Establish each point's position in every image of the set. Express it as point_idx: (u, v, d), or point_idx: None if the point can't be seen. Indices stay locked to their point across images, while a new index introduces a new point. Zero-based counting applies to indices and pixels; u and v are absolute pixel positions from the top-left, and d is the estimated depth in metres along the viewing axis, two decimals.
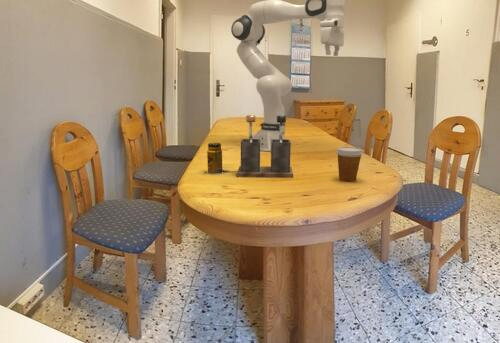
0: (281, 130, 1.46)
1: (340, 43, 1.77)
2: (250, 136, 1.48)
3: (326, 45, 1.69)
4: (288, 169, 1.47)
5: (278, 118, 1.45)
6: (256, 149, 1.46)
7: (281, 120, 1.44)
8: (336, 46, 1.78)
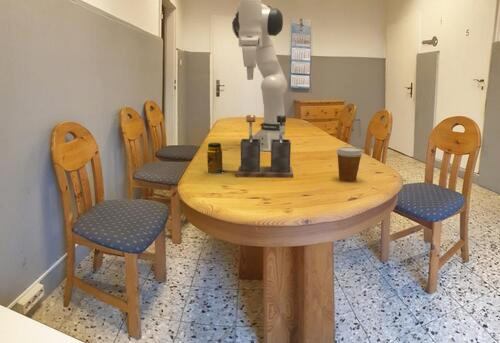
0: (281, 130, 1.46)
1: (255, 64, 1.46)
2: (250, 136, 1.48)
3: (248, 68, 1.36)
4: (288, 169, 1.47)
5: (278, 118, 1.45)
6: (256, 149, 1.46)
7: (281, 120, 1.44)
8: None
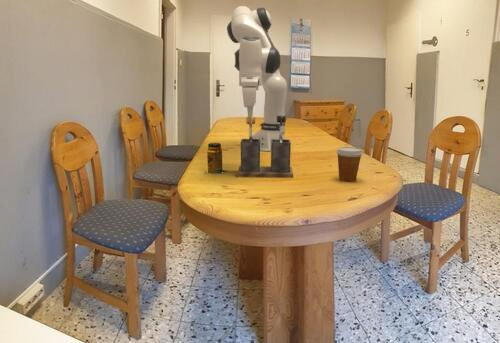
0: (281, 130, 1.46)
1: (255, 101, 1.50)
2: (250, 138, 1.48)
3: (249, 107, 1.43)
4: (288, 169, 1.47)
5: (278, 118, 1.45)
6: (256, 149, 1.46)
7: (281, 120, 1.44)
8: None
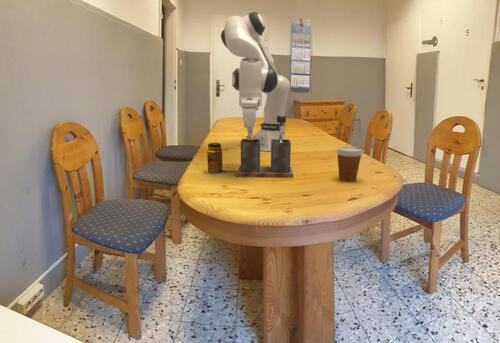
0: (281, 130, 1.46)
1: None
2: None
3: None
4: (288, 169, 1.47)
5: (278, 118, 1.45)
6: (256, 149, 1.46)
7: (281, 120, 1.44)
8: None
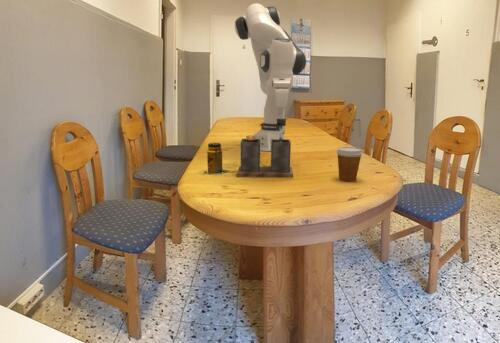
0: (281, 133, 1.47)
1: None
2: None
3: (280, 108, 1.42)
4: (288, 169, 1.47)
5: (278, 121, 1.45)
6: (256, 149, 1.46)
7: (281, 123, 1.45)
8: None
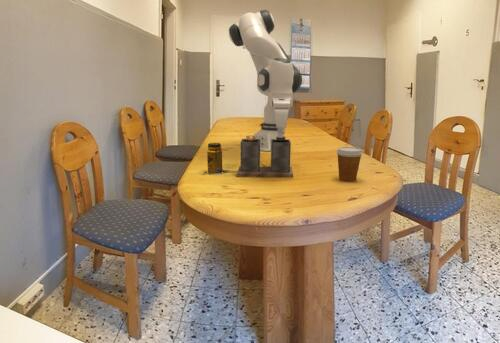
0: None
1: None
2: None
3: None
4: (288, 169, 1.47)
5: (278, 139, 1.47)
6: (256, 149, 1.46)
7: (280, 141, 1.46)
8: None
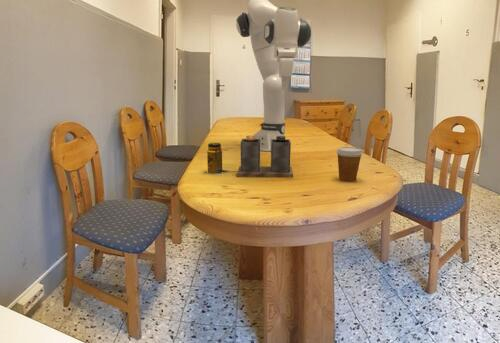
0: None
1: None
2: None
3: (284, 79, 1.41)
4: (288, 169, 1.47)
5: (278, 139, 1.47)
6: (256, 149, 1.46)
7: (280, 141, 1.46)
8: None
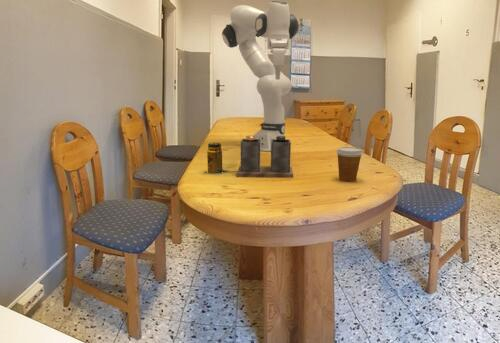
0: None
1: None
2: None
3: (277, 69, 1.50)
4: (288, 169, 1.47)
5: (278, 139, 1.47)
6: (256, 149, 1.46)
7: (280, 141, 1.46)
8: None
